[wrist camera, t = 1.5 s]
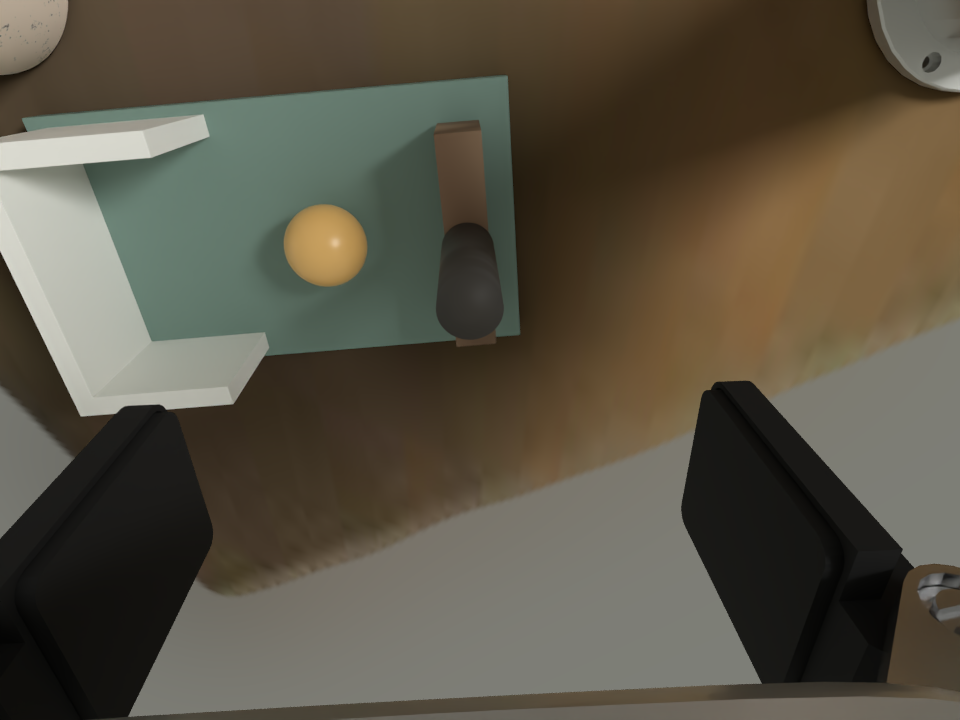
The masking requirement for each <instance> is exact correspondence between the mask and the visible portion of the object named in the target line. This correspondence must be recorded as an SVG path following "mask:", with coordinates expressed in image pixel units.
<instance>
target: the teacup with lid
mask: <svg viewBox="0 0 960 720" xmlns="http://www.w3.org/2000/svg"><path fill="white" fill-rule="evenodd" d="M67 13H68V0H0V75H9V74H15V73H19V72H22V71H26V70H28V69H30V68H33V67H35V66H36V65H38V64H39V63H41V62H42V61H43V60H45V59H46V58H47V57H48V56H49V55H50V54H51V53H52V51H53V50H54V49H55V47H56V46H57V44H58V42H59V40H60V38H61V36H62V34H63V31H64V28H65V24H66V20H67Z"/></svg>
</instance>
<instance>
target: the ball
mask: <svg viewBox="0 0 960 720" xmlns="http://www.w3.org/2000/svg"><path fill="white" fill-rule="evenodd" d="M284 251H285V255H286V258H287V261H288V263H289V265H290V266H291V268H292V269H293V270H294V272H295V273H296V274H297V275H298V276H300V277H301V278H302V279H304V280H305V281H307V282H309V283H311V284H314V285H318V286H324V287H331V286H337V285H341V284H344V283H346V282H348V281H349V280H351V279H352V278H353V277H355V276H356V275H357V274H358V272H359V271H360V270H361V268H362V267H363V265H364V263H365V260H366V256H367V239H366V235H365V232H364V230H363V228H362V226H361V224H360V223H359V222H358V220H357V219H356V218H355V217H354V216H353V215H352V214H350V213H349V212H348V211H346V210H344V209H342V208H340V207H337V206H334V205H329V204H319V205H313V206H310V207H307V208H305V209H303V210H302V211H300V212H299V213H297V214H296V215H295V216H294V217H293V219H292V220H291V221H290V223H289V225H288V226H287V229H286V231H285V235H284Z"/></svg>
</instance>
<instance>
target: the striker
mask: <svg viewBox="0 0 960 720" xmlns="http://www.w3.org/2000/svg"><path fill="white" fill-rule="evenodd" d="M434 143H435V153H436V162H437V171H438V180H439V190H440V199H441V208H442V217H443V226H444V238H443V241H442V248H441V258H440V269H439V279H438V290H437V300H436V315H437V318H438V321H439V323H440V324H441V326H442V327H443V328H444V329H445V330H446V331H447V332H448V333H449V334H451V335H453V336H455V337H456V346H457V347H462V346H474V345H486V344H496V330H495V329H496V328H497V327H498V325H499V324H500V322H501V320H502V317H503V313H504V304H503V297H502V291H501V285H500V279H499V273H498V267H497V261H496V255H495V249H494V243H493V240H492V237H491V235H490V234H489V232H488V218H487V204H486V190H485V176H484V162H483V148H482V134H481V127H480V123H479V120H470V121H458V122H447V123H437V125H436V128H435V131H434Z"/></svg>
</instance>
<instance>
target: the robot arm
mask: <svg viewBox="0 0 960 720" xmlns="http://www.w3.org/2000/svg"><path fill="white" fill-rule="evenodd" d="M867 8H868V17H869V21H870V24H871V27H872V30H873V34H874V37H875V40H876V42H877V44H878V46H879V47H880V49H881V51H882V52H883V54H884V56H885V57H886V59H887V61H888V62H889V63H890V64H891V65H892V66H893V67H894V68H895V69H896V70H897V71H898V72H899V73H900V74H901V75H903V76H904V77H906V78H908V79H910V80H912V81H913V82H915V83H917V84H919V85H920V86H924V87H928V88H932V89H936V90H939V91H947V92H960V0H867ZM681 511H682V518H683V522H684V525H685V527H686V529H687V531H688V533H689V535H690V537H691V539H692V541H693V543H694V545H695V547H696V550H697V552H698V554H699V556H700V558H701V560H702V562H703V564H704V566H705V568H706V570H707V572H708V574H709V576H710V578H711V580H712V582H713V584H714V586H715V588H716V590H717V593H718V595H719V597H720V599H721V601H722V603H723V605H724V607H725V609H726V611H727V613H728V615H729V617H730V619H731V621H732V623H733V625H734V627H735V629H736V631H737V633H738V635H739V637H740V640H741V641H742V644H743V645H744V648H745V650H746V652H747V654H748V656H749V658H750V660H751V662H752V664H753V666H754V668H755V670H756V672H757V674H758V676H759V678H760V680H761V682H762V684H738V685H707V686H689V687H666V688H646V689H625V690H604V691H584V692H564V693H543V694H523V695H506V696H487V697H467V698H448V699H429V700H412V701H394V702H376V703H357V704H339V705H321V706H303V707H287V708H270V709H253V710H237V711H221V712H203V713H186V714H170V715H153V716H137V717H128V715H129V713H130V711H131V709H132V707H133V705H134V703H135V701H136V699H137V697H138V695H139V693H140V691H141V689H142V687H143V685H144V682H145V680H146V678H147V676H148V674H149V672H150V670H151V668H152V666H153V664H154V662H155V660H156V658H157V656H158V654H159V652H160V650H161V648H162V646H163V644H164V642H165V639H166V637H167V635H168V633H169V631H170V629H171V627H172V625H173V623H174V621H175V619H176V617H177V615H178V613H179V611H180V609H181V606H182V604H183V602H184V600H185V598H186V596H187V594H188V592H189V590H190V588H191V586H192V584H193V582H194V580H195V578H196V576H197V574H198V572H199V570H200V568H201V566H202V563H203V561H204V559H205V557H206V555H207V553H208V551H209V549H210V547H211V544H212V539H213V528H212V523H211V520H210V517H209V514H208V511H207V508H206V505H205V502H204V499H203V495H202V492H201V489H200V486H199V483H198V480H197V477H196V474H195V470H194V467H193V464H192V461H191V458H190V455H189V452H188V449H187V445H186V442H185V439H184V436H183V433H182V430H181V427H180V424H179V420H178V418H177V416H176V415H175V414H174V413H172V412H167V410H166V409H165V407H164V406H162V405H160V404H157V405H132V406H124V407H123V408H121V409H120V410H119V411H118V412H117V413H116V414H115V415H114V416H113V418H112V419H111V420H110V421H109V422H108V423H107V424H106V425H105V426H104V427H103V428H102V429H101V431H100V432H99V433H98V434H97V435H96V436H95V437H94V438H93V439H92V440H91V441H90V442H89V443H88V445H87V446H86V447H85V448H84V449H83V450H82V451H81V452H80V453H79V454H78V455H77V456H76V458H75V459H74V460H73V461H72V462H71V463H70V464H69V465H68V466H67V467H66V468H65V470H63V472H62V473H61V474H60V475H59V476H58V477H57V478H56V479H55V480H54V481H53V482H52V483H51V485H50V486H49V487H48V488H47V489H46V490H45V491H44V492H43V493H42V494H41V496H40V497H39V498H38V499H37V500H36V501H35V502H34V503H33V504H32V505H31V506H30V507H29V508H28V509H27V510H26V512H25V513H24V514H23V515H22V516H21V517H20V518H19V519H18V520H17V521H16V522H15V524H14V525H13V526H12V527H11V528H10V529H9V530H8V531H7V532H6V533H5V534H4V535H3V536H2V538H1V539H0V720H960V568H958V567H955V566H949V565H940V564H929V565H921V566H918V567H916V568H914V567H913V566H912V565H911V564H910V563H909V562H908V560H907V559H906V558H905V557H904V556H903V555H902V554H901V552H902V550H903V549H902V548H901V547H900V546H899V545H898V543H897V542H896V541H895V540H894V539H893V538H892V537H891V536H890V535H889V533H888V532H887V531H886V530H885V529H884V528H883V527H882V526H881V525H880V524H879V522H878V521H877V520H876V519H875V518H874V517H873V516H872V515H871V514H870V513H869V511H868V510H867V509H866V508H865V507H864V506H863V505H862V504H861V503H860V501H859V500H858V499H857V498H856V497H855V496H854V495H853V494H852V493H851V492H850V490H849V489H848V488H847V487H846V486H845V485H844V484H843V483H842V481H841V480H840V479H839V478H838V477H837V476H836V475H835V474H834V473H833V471H832V470H831V469H830V468H829V467H828V466H827V465H826V464H825V463H824V462H823V461H822V459H821V458H820V457H819V456H818V455H817V454H816V453H815V452H814V450H813V449H812V448H811V447H810V446H809V445H808V444H807V443H806V442H805V440H804V439H803V438H801V436H800V435H799V434H798V433H797V432H796V430H795V429H794V428H793V427H792V426H791V425H790V424H789V423H788V422H787V420H786V419H785V418H784V417H783V416H782V415H781V414H780V413H779V412H778V410H777V409H776V408H775V407H774V406H773V405H772V404H771V403H770V402H769V400H768V399H767V398H766V397H765V396H764V395H763V394H762V393H761V392H760V390H759V389H758V388H757V387H756V386H755V385H754V384H753V383H752V382H750V381H727V382H716V383H715V384H714V385H713V386H712V388H711V390H706V391H704V393H703V394H702V398H701V403H700V408H699V413H698V419H697V424H696V429H695V435H694V440H693V446H692V451H691V456H690V462H689V467H688V472H687V478H686V484H685V489H684V494H683V499H682V506H681Z"/></svg>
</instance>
